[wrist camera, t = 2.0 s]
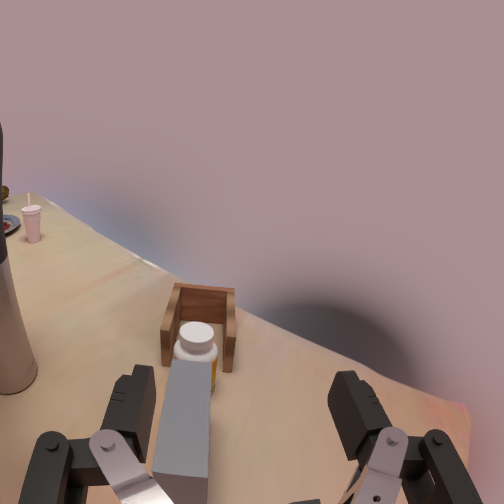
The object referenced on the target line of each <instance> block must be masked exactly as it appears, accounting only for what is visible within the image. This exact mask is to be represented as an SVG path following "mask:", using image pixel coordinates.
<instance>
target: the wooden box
mask: <svg viewBox="0 0 504 504" xmlns="http://www.w3.org/2000/svg"><path fill="white" fill-rule="evenodd" d="M180 320H188V321H198V322H208V323H219V324H224V330H223V372H231V371H232V364H233V356H234V349H235V341H236V324H235V295H234V288H222V287H212V286H202V285H192V284H182V283H175V284H174V288H173V291H172V294H171V297H170V300H169V303H168V306H167V309H166V312H165V316H164V319H163V322H162V325H161V329H160V338H161V358H162V366H169V367H170V365H171V361H172V356H173V351H174V345H175V342H176V337H177V333H178V328H179V324H180Z"/></svg>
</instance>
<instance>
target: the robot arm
mask: <svg viewBox="0 0 504 504" xmlns="http://www.w3.org/2000/svg"><path fill="white" fill-rule="evenodd" d="M2 162H3V133H2V127H1V124H0V393H3V394H12V393H17V392H19V391H22V390H23V389H25V388H26V387H28V386H29V385H30V384H31V383H32V381H33V380H34V379H35V376H36V374H37V364H36V361H35V358H34V355H33V352H32V349H31V346H30V343H29V340H28V337H27V333H26V330H25V327H24V323H23V320H22V316H21V313H20V309H19V305H18V301H17V297H16V293H15V288H14V284H13V279H12V274H11V269H10V264H9V258H8V253H7V246H6V239H5V231H4V221H3V209H2ZM155 403H156V387H155V379H154V370H153V366H146V365H137V364H136V365H135V366H134V369H133V373H132V376H130V375H122V376H121V377H120V378H119V379H118V380H117V381H116V383H115V386H114V389H113V393H112V394H111V398H110V401H109V404H108V407H107V410H106V413H105V416H104V419H103V423H102V426H101V428H100V430H99V431H97V432H96V433H94V434H93V435H92V436H91V437H90V438H86V439H73V440H67V438H66V437H65V436H64V435H63V434H61V433H59V432H55V431H49V432H45V433H43V434H42V435H40V436H39V438H38V439H37V442H36V445H35V447H34V450H33V454H32V457H31V460H30V463H29V466H28V470H27V473H26V476H25V480H24V483H23V487H22V491H21V495H20V499H19V503H18V504H86V499H87V492H88V486H101V485H110V486H111V487H112V489H113V490H114V492H115V494H116V495H117V497H118V498H119V500H120V501H121V503H122V504H174V503H173V502H172V501H171V499H170V498H169V497H168V496H167V494H166V493H165V492H164V491H163V489H162V488H161V487H160V486H159V484H158V483H157V482H156V481H155V479H154V478H153V477H150V476H149V475H148V474H147V472H146V471H145V469H144V468H143V467H142V465H141V464H140V463H146V457H147V450H148V444H149V438H150V432H151V426H152V420H153V414H154V409H155ZM328 407H329V409H330V412H331V415H332V418H333V420H334V423H335V426H336V428H337V431H338V434H339V437H340V439H341V442H342V445H343V448H344V450H345V453H346V456H347V459H348V461H351V460H356V459H357V460H358V463H359V464H358V465H357V467H356V469H355V471H354V474H353V476H352V478H351V480H350V482H349V484H348V486H347V488H346V490H345V492H344V494H343V496H342V498H341V499H340V501H339V502H338V504H395V502H396V499H397V496H398V493H399V490H400V487H401V485H402V487H403V490H404V493H405V496H406V498H407V501H408V504H483V503H482V501H481V499H480V497H479V495H478V492H477V490H476V488H475V486H474V484H473V482H472V480H471V478H470V476H469V474H468V472H467V470H466V468H465V466H464V464H463V462H462V460H461V459H460V457H459V455H458V453H457V451H456V449H455V447H454V445H453V444H452V442H451V440H450V438H449V436H448V435H447V434H446V433H445V432H443V431H441V430H438V429H433V430H430V431H428V432H427V433H426V434H425V436H424V437H414V436H407V435H406V433H405V432H404V431H402V430H401V429H399V428H396V427H393V426H392V424H391V422H390V420H389V419H388V417H387V415H386V413H385V411H384V409H383V407H382V405H381V403H379V400H378V398H377V397H376V394H375V392H374V390H373V389H372V387H371V386H370V385H369V384H368V383H366V382H365V381H364V380H361V381H360V380H359V378H358V376H357V374H356V372H355V371H353V370H351V371H338V372H337V373H336V375H335V378H334V381H333V383H332V386H331V388H330V391H329V394H328ZM429 471H430V473H431V475H430V473H429ZM431 476H432V477H431ZM432 478H433V480H434V482H435V484H434V482H433V480H432ZM290 504H321V503H320V499H314V500H307V501H299V502H293V503H290Z"/></svg>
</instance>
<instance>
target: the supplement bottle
mask: <svg viewBox="0 0 504 504" xmlns="http://www.w3.org/2000/svg"><path fill="white" fill-rule="evenodd" d="M217 358H218V349H217V346H216V344H215V343H214V331H213V329H212V328H211V327H210V326H209V325H207V324H205V323H202V322H189V323H186V324H184V325H183V326H182V327H181V328H180V332H179V340H178V341H177V342H176V343H175V345H174V359H178V360H187V361H197V362H207V363H212V375H211V394H212V392H213V391H214V387H215V377H216V367H217Z"/></svg>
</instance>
